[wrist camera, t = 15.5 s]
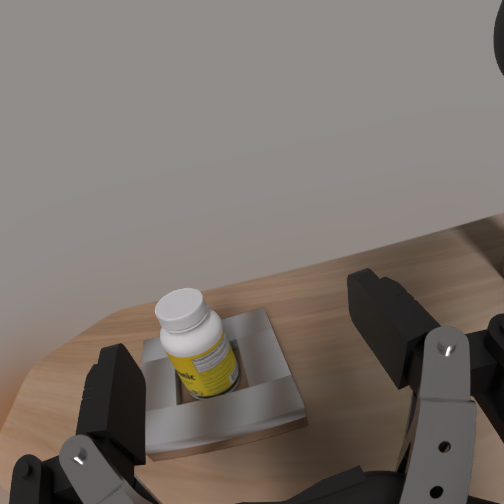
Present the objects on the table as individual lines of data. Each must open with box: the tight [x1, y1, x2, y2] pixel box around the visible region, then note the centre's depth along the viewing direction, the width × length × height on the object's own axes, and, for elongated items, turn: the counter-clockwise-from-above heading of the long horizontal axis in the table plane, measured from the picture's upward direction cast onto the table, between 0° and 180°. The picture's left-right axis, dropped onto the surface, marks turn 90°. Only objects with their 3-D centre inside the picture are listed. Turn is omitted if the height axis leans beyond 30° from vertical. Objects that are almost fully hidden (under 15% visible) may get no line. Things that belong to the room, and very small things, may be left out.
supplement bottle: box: [155, 288, 241, 400], centre depth 26 cm, size 5×5×10 cm
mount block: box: [141, 307, 308, 461], centre depth 29 cm, size 14×14×3 cm
